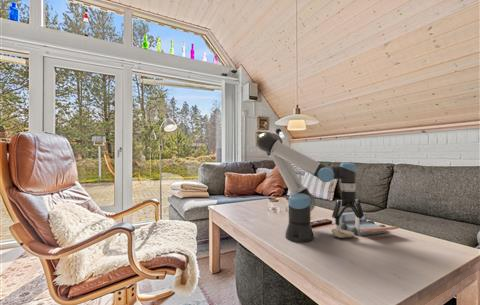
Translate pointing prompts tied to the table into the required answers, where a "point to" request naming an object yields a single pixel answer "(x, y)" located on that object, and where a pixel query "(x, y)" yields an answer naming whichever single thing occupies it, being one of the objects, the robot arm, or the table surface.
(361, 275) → the table surface
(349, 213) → the truck bed
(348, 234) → the seashell
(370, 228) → the tailgate
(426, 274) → the table surface
